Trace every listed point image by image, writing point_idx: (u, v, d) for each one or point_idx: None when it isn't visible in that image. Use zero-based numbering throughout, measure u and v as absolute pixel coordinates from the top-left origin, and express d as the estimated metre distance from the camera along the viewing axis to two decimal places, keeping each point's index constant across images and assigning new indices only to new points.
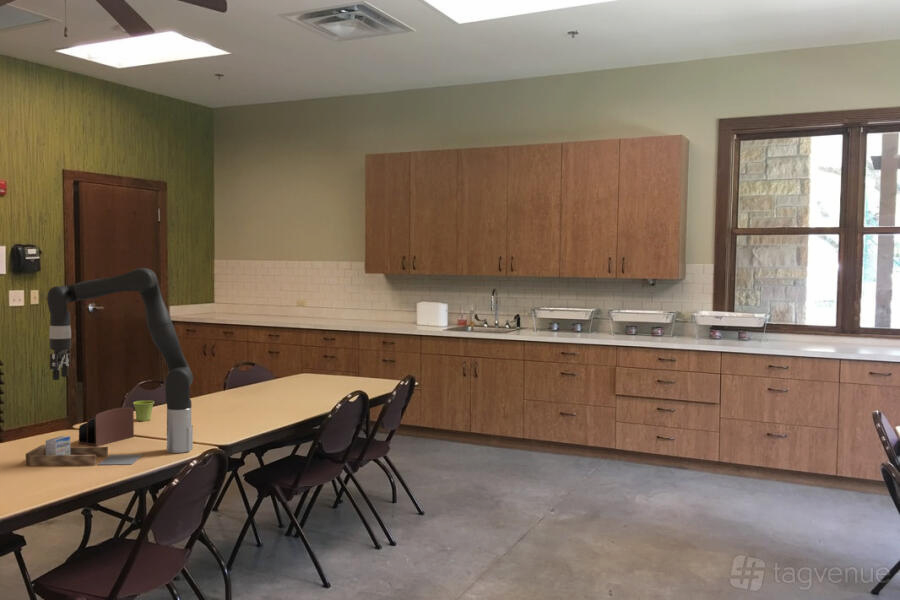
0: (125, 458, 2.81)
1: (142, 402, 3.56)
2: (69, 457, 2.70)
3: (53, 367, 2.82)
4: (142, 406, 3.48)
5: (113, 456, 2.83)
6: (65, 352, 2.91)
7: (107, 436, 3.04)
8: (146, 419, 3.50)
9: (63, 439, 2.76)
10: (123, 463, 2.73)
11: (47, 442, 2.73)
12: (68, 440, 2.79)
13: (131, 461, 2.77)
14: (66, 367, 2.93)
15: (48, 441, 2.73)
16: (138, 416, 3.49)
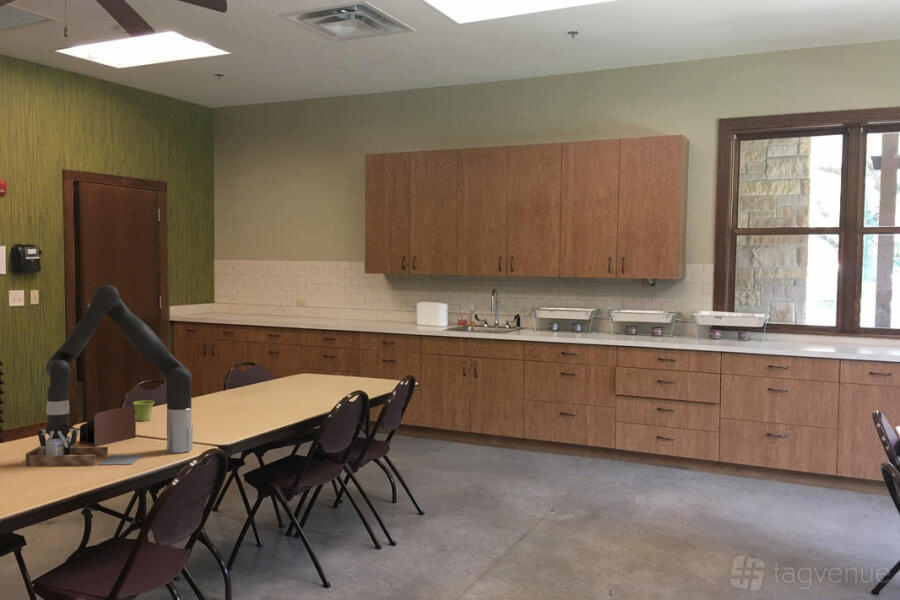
0: (125, 458, 2.81)
1: (142, 402, 3.56)
2: (69, 457, 2.70)
3: (74, 443, 2.77)
4: (142, 406, 3.48)
5: (113, 456, 2.83)
6: None
7: (106, 436, 3.04)
8: (146, 419, 3.50)
9: None
10: (123, 463, 2.73)
11: (47, 442, 2.73)
12: None
13: (131, 461, 2.77)
14: None
15: (48, 441, 2.73)
16: (138, 416, 3.49)
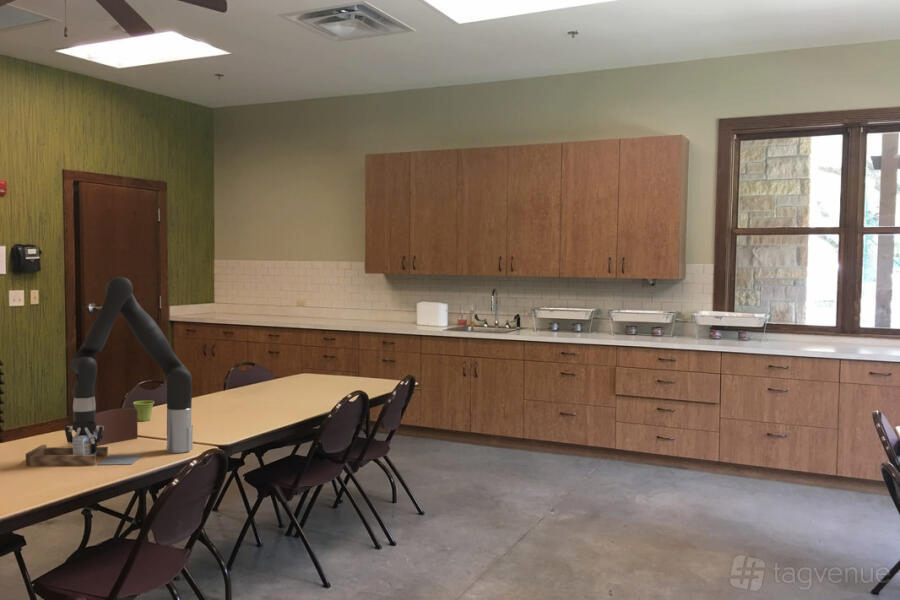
0: (125, 458, 2.81)
1: (142, 402, 3.56)
2: (69, 457, 2.70)
3: (100, 439, 2.79)
4: (142, 406, 3.48)
5: (113, 456, 2.83)
6: None
7: (105, 436, 3.04)
8: (146, 419, 3.50)
9: None
10: (123, 463, 2.73)
11: (74, 438, 2.74)
12: None
13: (131, 461, 2.77)
14: None
15: (75, 437, 2.74)
16: (138, 416, 3.49)
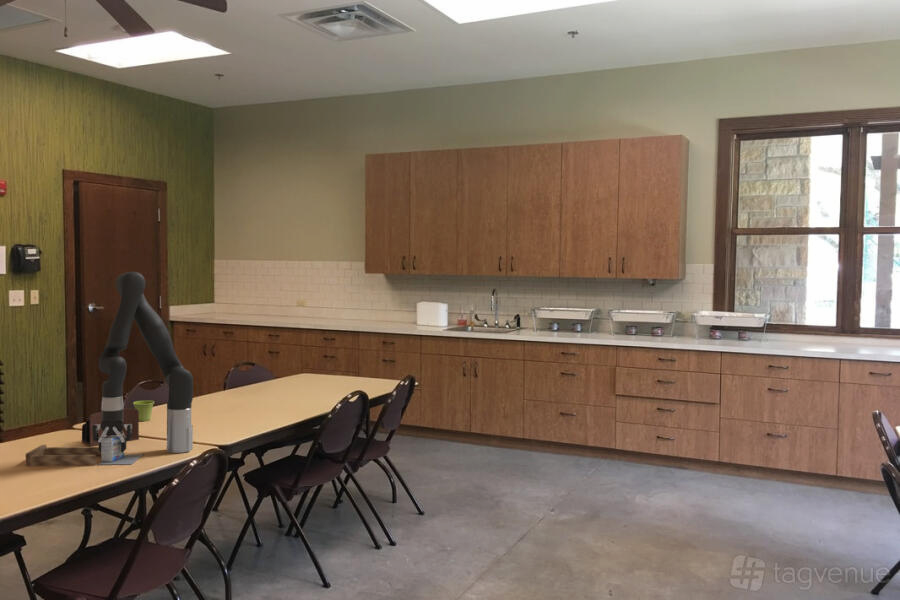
0: (125, 458, 2.81)
1: (142, 402, 3.56)
2: (69, 457, 2.70)
3: (130, 437, 2.80)
4: (142, 406, 3.48)
5: None
6: None
7: None
8: (146, 419, 3.50)
9: (118, 438, 2.79)
10: (123, 463, 2.73)
11: (103, 441, 2.75)
12: None
13: (131, 461, 2.77)
14: None
15: (103, 440, 2.75)
16: None
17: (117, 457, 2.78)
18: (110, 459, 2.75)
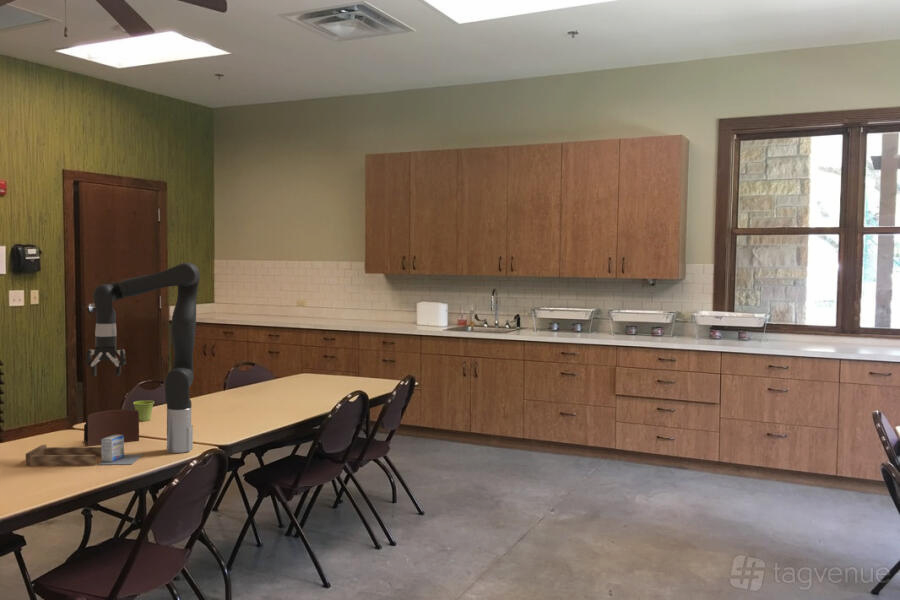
0: (125, 458, 2.81)
1: (142, 402, 3.56)
2: (69, 457, 2.70)
3: (124, 362, 2.92)
4: (142, 406, 3.48)
5: None
6: None
7: (102, 437, 3.03)
8: (146, 419, 3.50)
9: (118, 438, 2.79)
10: (123, 463, 2.73)
11: (103, 441, 2.75)
12: (122, 439, 2.81)
13: (131, 461, 2.77)
14: (95, 366, 2.91)
15: (103, 440, 2.75)
16: None
17: (117, 457, 2.78)
18: (110, 459, 2.75)
